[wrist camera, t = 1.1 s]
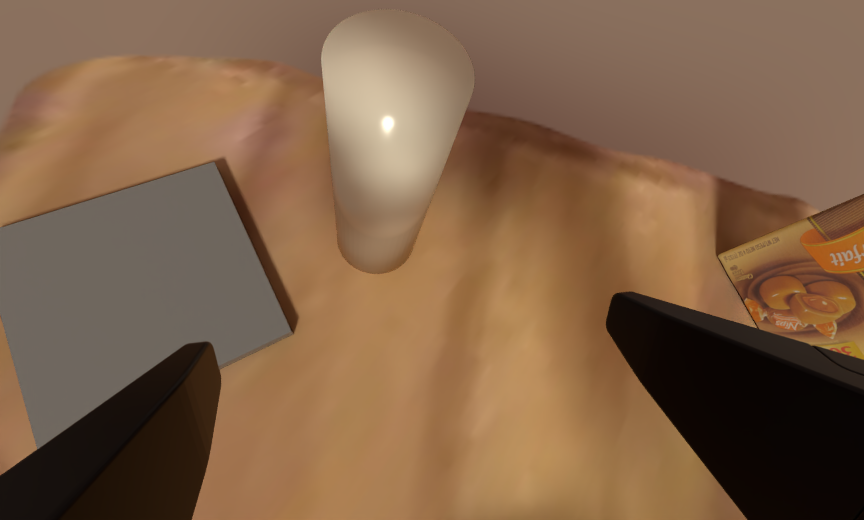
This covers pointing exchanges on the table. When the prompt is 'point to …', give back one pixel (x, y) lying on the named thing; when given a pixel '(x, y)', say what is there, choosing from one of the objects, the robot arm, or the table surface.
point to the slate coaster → (129, 292)
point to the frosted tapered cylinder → (390, 128)
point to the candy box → (807, 279)
